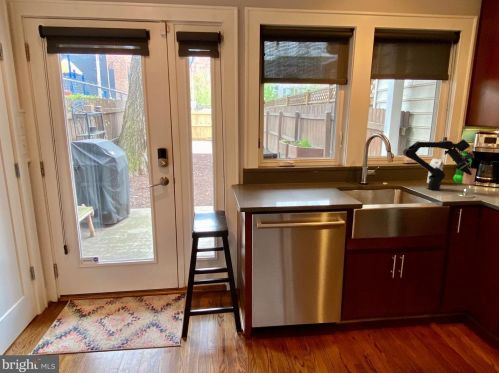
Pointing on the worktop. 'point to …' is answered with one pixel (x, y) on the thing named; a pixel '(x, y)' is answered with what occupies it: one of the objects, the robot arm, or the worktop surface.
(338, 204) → the worktop surface
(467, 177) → the terracotta pot
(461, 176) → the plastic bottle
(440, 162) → the milk carton
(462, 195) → the silver pot lid
